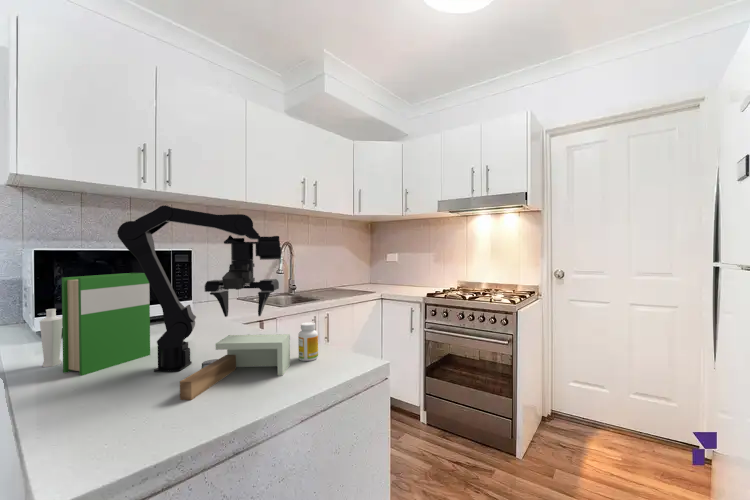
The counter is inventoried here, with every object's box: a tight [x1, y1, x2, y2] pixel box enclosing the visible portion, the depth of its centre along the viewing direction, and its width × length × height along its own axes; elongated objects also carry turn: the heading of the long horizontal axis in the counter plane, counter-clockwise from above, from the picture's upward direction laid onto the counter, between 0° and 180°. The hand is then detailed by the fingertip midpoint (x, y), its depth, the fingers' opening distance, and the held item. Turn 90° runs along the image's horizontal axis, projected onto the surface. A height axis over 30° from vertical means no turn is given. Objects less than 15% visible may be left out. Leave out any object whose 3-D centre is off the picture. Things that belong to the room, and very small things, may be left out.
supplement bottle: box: [297, 321, 319, 362], centre depth 97 cm, size 5×5×10 cm
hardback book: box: [61, 272, 151, 376], centre depth 95 cm, size 18×7×24 cm, turn 160°
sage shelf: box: [214, 333, 291, 377], centre depth 88 cm, size 16×8×8 cm, turn 91°
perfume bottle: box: [39, 308, 63, 368], centre depth 93 cm, size 5×4×15 cm
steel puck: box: [201, 358, 219, 369], centre depth 87 cm, size 5×5×2 cm
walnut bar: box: [179, 354, 237, 401], centre depth 80 cm, size 2×18×4 cm, turn 174°
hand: (243, 316), depth 96 cm, fingers open, 9 cm apart
